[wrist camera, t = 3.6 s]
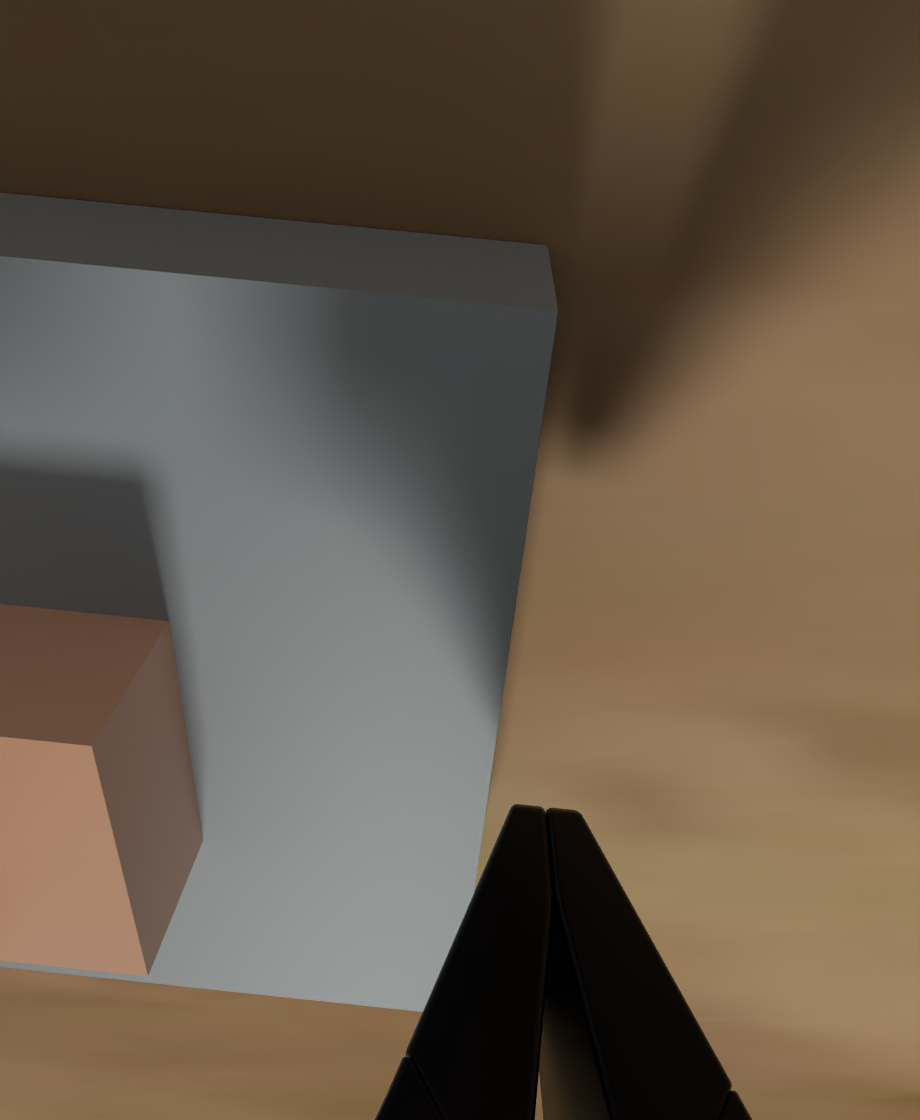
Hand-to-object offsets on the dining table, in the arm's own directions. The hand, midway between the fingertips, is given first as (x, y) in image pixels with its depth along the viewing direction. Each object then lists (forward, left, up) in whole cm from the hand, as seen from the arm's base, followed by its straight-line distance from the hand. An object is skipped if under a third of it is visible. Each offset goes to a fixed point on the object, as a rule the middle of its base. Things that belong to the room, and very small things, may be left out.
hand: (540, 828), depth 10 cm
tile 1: (0, +7, -1) cm, 7 cm away
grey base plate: (0, +8, -4) cm, 8 cm away
